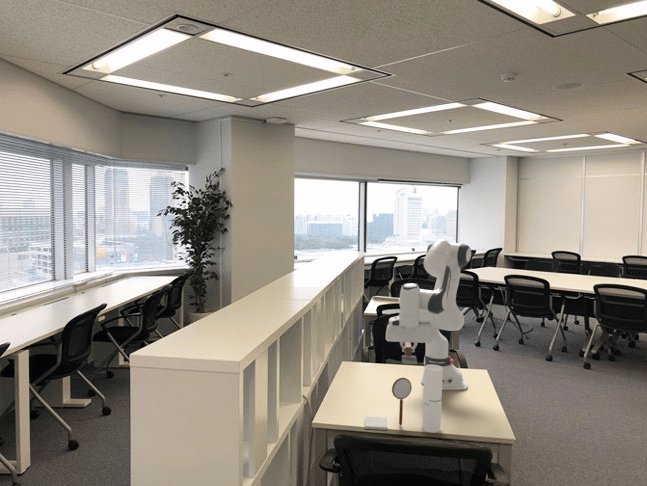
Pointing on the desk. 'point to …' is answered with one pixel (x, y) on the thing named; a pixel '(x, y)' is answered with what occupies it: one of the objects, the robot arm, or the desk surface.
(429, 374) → the cylindrical container
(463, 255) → the robot arm
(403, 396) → the magnifying glass
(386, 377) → the desk surface
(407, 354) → the turner
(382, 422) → the glazed tile
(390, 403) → the desk surface
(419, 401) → the desk surface
